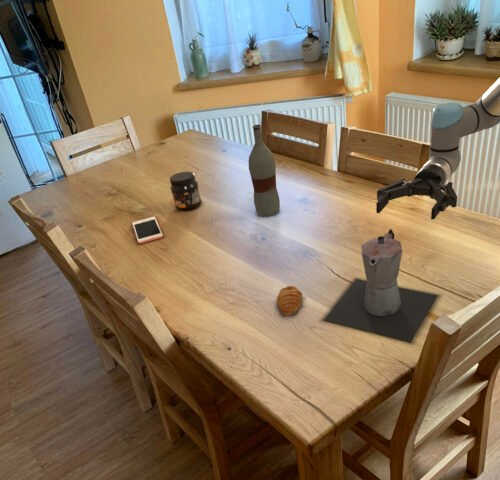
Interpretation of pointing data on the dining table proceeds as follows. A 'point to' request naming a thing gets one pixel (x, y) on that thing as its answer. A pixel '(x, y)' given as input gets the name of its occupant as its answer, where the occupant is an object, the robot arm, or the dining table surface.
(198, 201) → the supplement container
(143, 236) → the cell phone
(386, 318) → the mat
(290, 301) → the pastry
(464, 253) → the dining table surface
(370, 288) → the moka pot
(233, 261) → the dining table surface
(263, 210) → the bottle
